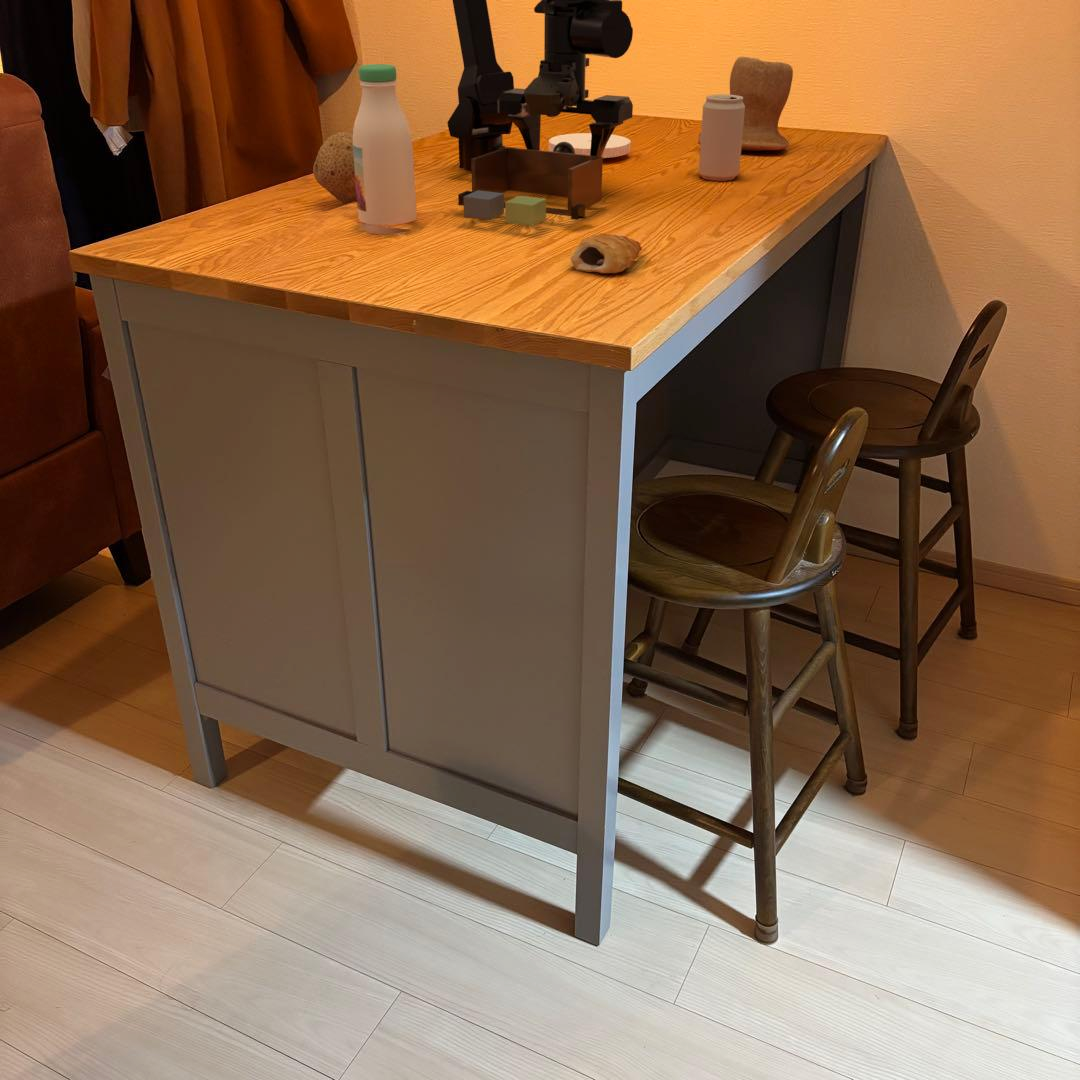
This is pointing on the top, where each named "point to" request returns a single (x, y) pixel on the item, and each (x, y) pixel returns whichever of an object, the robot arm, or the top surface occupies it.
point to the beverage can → (721, 137)
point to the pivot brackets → (576, 211)
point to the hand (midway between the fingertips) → (563, 168)
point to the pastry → (605, 253)
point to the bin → (541, 174)
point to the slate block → (484, 205)
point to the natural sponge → (337, 167)
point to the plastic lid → (583, 144)
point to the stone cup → (761, 101)
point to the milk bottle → (382, 154)
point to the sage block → (525, 210)
